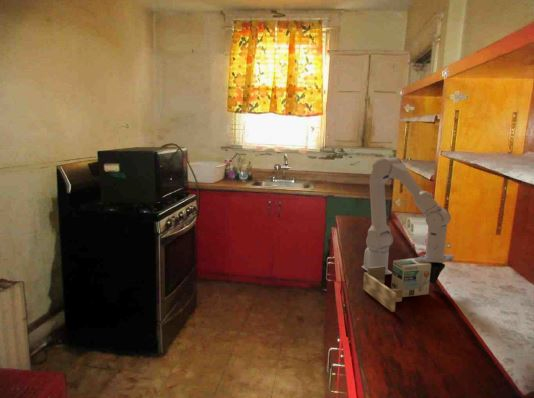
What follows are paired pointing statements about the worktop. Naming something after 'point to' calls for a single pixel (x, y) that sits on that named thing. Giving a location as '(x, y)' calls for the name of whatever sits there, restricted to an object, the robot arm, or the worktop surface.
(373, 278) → the shelf slot
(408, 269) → the light bulb box
